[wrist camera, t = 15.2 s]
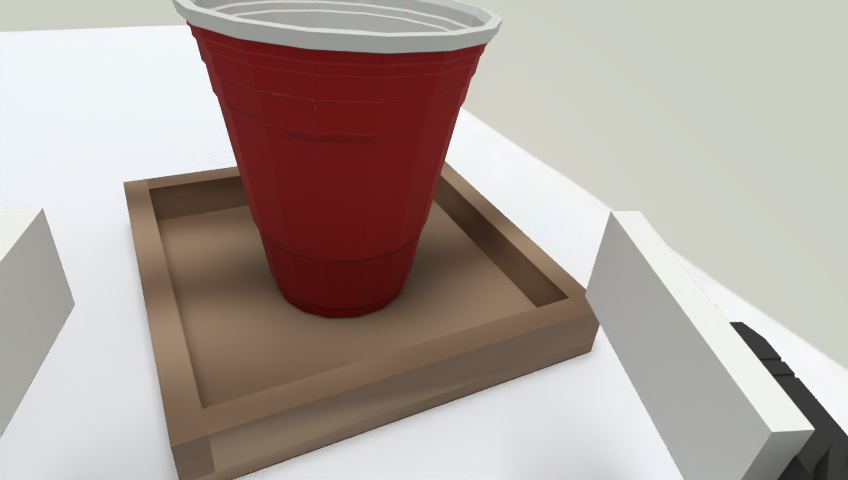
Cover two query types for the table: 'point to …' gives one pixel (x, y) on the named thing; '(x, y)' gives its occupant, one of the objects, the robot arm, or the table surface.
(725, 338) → the robot arm
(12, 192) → the table surface
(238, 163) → the plastic cup
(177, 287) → the cup tray
